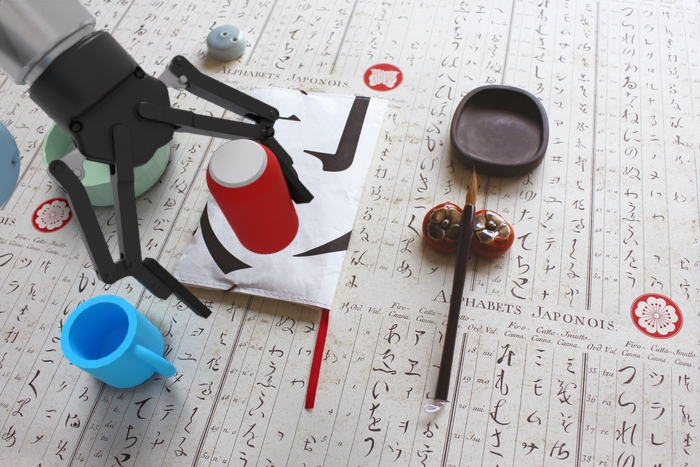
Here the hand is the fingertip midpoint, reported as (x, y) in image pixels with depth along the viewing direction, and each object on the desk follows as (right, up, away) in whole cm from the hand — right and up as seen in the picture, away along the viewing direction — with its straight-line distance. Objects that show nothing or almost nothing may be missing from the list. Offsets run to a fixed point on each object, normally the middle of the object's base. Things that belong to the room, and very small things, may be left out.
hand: (257, 254), depth 49 cm
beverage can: (0, +2, +6) cm, 7 cm away
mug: (-16, -13, +16) cm, 26 cm away
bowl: (-26, +13, +31) cm, 42 cm away
